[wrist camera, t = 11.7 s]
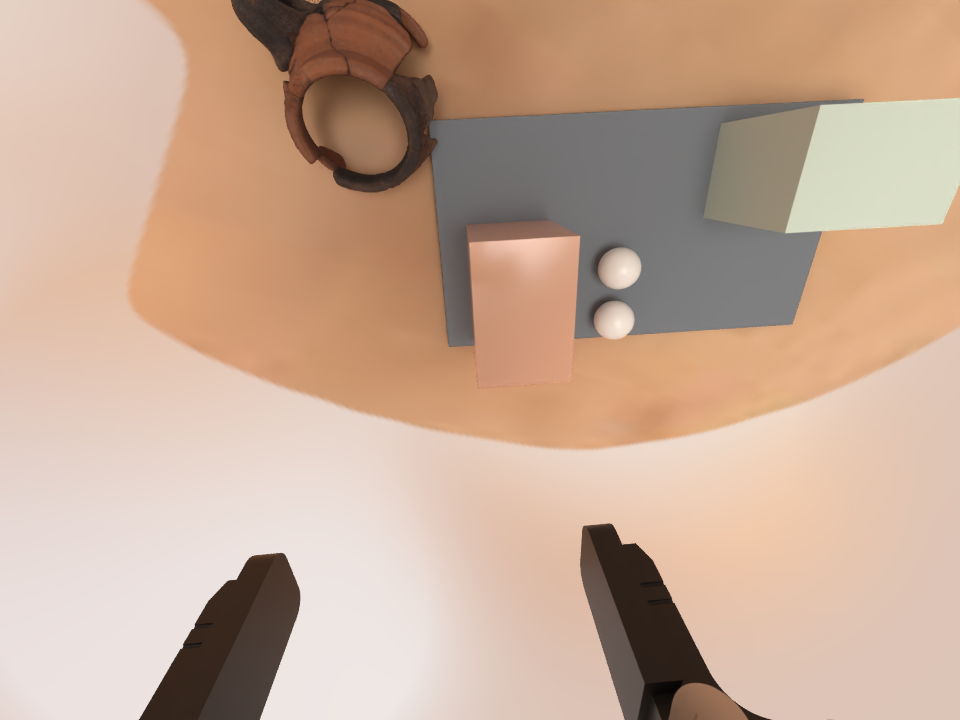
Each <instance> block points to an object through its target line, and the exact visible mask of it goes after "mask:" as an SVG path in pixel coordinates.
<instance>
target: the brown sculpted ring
mask: <svg viewBox="0 0 960 720" xmlns="http://www.w3.org/2000/svg"><path fill="white" fill-rule="evenodd" d="M231 2H232V6H233V9H234V11H235V13H236V15H237V17H238V18H239V20H240V21H241V22H242V24H243V25H244V26H245V27H246V28H247V29H248V31H249V32H250V33H251V34H252V35H253V36H254V37H255V38H256V39H258V40H259V41H260V42H261V43H262V44H264V45H265V47H267V49H268V50H269V51H270V52H271V54H272V56H273V58H274V60H275V62H276V65H277V67H278V69H279V70H280V71H282V72H285V71H288V70H289V74H290V82H289V81H284V82H283V89H284V95H285V101H284V104H285V118H286V122H287V127H288V130H289V132H290V134H291V137H292V139H293V141H294V143H295V145H296V147H297V149H298V150H299V151H300V152H301V154H302V155H303V157H304V158H305V159H306V160H307V161H308V162H309V163H310V164H313V163H314V162H315V161H316V160H317V159H318V160H319V161H320V162H321V163H322V164H323V165H324V166H325V167H327V168H328V169H330V170H332V171H333V177H334V179H335V181H336V183H337V184H338V185H340V186H342V187H345V188H348V189H351V190H356V191H362V192H380V191H384V190H387V189H388V188H393V187H395V186H398V185H400V184H401V183H402V182H403V181H405V180H406V179H407V178H408V177H409V176H410V175H411V174H413V173H414V172H415V171H416V170H417V169H418V168H419V167H420V166H421V164H422V163H423V162H424V161H425V159H426V158H427V157H428V156H429V155H430V153H431V152H432V151H433V150H434V148H435V146H436V145H437V143H438V140H437V139H435V138H433V139H431V138H430V137H429V136H427V135H425V134H424V130H425V129H426V128H427V127H428V126H429V125H430V122H431V120H432V118H433V114H434V104H435V102H436V100H437V97H438V94H437V90H436V87H435V83H434V80H433V78H432V77H431V76H430V75H427V76H425V77H424V78H423V79H422V80H421V79H419V78H409V77H405V76H401V75H397V74H395V70H396V69H397V68H398V66H399V65H400V63H401V61H402V60H403V58H404V57H405V56H406V54H408V53H409V52H410V51H411V49H412V45H411V39H410V36H409V34H408V32H407V31H406V30H405V29H404V28H403V27H402V26H401V25H400V23H402V24H403V25H404V26H405V27H406V29H407V30H408V31H409V32H410V33H411V34H412V36H413V37H414V38H415V40H416V41H417V43H418V44H419V45H420V47H421V48H426V46H427V45H428V39H427V37H426V35H425V33H424V32H423V30H422V29H421V27H420V26H419V25H418V24H417V22H416V21H415V20H414V19H413V18H412V17H411V16H410V15H409V14H408V13H407V12H405V11H404V10H403V9H401V8H400V7H399V6H398V5H396V4H395V3H393V2H390V1H388V0H322V1H320V2H319V4H314V3H310V2H307V1H305V0H231ZM330 75H351V76H353V77H357V78H360V79H362V80H364V81H367V82H369V83H370V84H372V85H373V86H375V87H376V88H378V89H379V90H381V91H383V92H385V93H386V94H387V96H388V97H389V98H390V99H391V101H392V102H393V103H394V104H395V106H396V107H397V109H398V110H399V112H400V114H401V116H402V118H403V120H404V123H405V126H406V130H407V136H408V147H407V151H406V154H405V156H404V158H403V160H402V161H401V162H400V163H399V164H398V165H397V166H396V167H395V168H394V169H392V170H390V171H388V172H385V173H380V174H375V175H367V174H360V173H356V172H353V171H350V170H348V169H346V165H345V163H344V159H343V158H342V157H341V156H340V155H339V154H337V153H335V152H334V151H332V150H330V149H328V148H326V147H323V146H320V147H317V146H316V144H315V143H314V141H313V140H312V138H311V137H310V135H309V133H308V131H307V129H306V126H305V123H304V120H303V114H302V104H303V99H304V95H305V93H306V91H307V89H308V88H309V87H310V86H311V85H312V84H313V83H314V82H315V81H317V80H319V79H321V78H323V77H326V76H330Z"/></svg>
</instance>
